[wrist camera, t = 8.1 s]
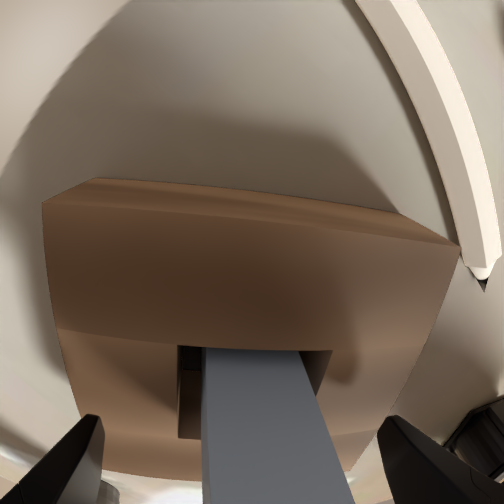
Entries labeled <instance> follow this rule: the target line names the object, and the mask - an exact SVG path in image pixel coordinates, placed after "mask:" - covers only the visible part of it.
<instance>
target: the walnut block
mask: <svg viewBox="0 0 504 504" xmlns="http://www.w3.org/2000/svg"><path fill="white" fill-rule="evenodd" d="M42 220H43V236H44V248H45V259H46V268H47V276H48V283H49V290H50V297H51V303H52V308H53V314H54V319H55V324H56V329H57V334H58V339H59V343H60V347H61V352H62V356H63V360H64V364H65V367H66V371H67V375H68V378H69V382H70V385H71V389H72V392H73V395H74V398H75V401H76V404H77V407H78V410H79V413H80V416H81V419H82V418H83V417H84V416H85V415H86V414H93V415H98V416H100V418H101V420H102V424H103V427H104V430H105V443H104V452H103V462H102V469H103V470H109V471H114V472H119V473H125V474H131V475H138V476H145V477H153V478H162V479H172V480H185V481H202V461H201V371H193V370H182V363H183V345H186V346H198V347H212V348H229V349H251V350H290V351H298V352H299V355H300V357H301V360H302V362H303V365H304V368H305V370H306V373H307V376H308V378H309V381H310V384H311V386H312V389H313V392H314V394H315V397H316V400H317V402H318V405H319V408H320V410H321V413H322V416H323V418H324V421H325V424H326V426H327V429H328V432H329V434H330V437H331V440H332V442H333V445H334V448H335V450H336V453H337V456H338V458H339V461H340V464H341V467H342V469H343V472H346V471H350V470H351V469H352V467H353V466H354V464H355V463H356V462H357V460H358V459H359V457H360V456H361V455H362V453H363V452H364V450H365V449H366V447H367V446H368V444H369V443H370V441H371V440H372V438H373V437H374V435H375V434H376V432H377V431H378V429H379V428H380V426H381V424H382V423H383V421H384V420H385V418H386V416H387V415H388V413H389V411H390V410H391V408H392V406H393V404H394V403H395V401H396V399H397V397H398V396H399V394H400V392H401V390H402V388H403V387H404V385H405V383H406V381H407V379H408V377H409V375H410V373H411V372H412V370H413V368H414V366H415V364H416V362H417V360H418V358H419V356H420V353H421V351H422V349H423V347H424V345H425V343H426V341H427V338H428V336H429V334H430V332H431V329H432V327H433V325H434V323H435V320H436V318H437V315H438V313H439V311H440V308H441V306H442V303H443V300H444V298H445V295H446V293H447V290H448V287H449V284H450V282H451V279H452V276H453V273H454V270H455V267H456V264H457V261H458V258H459V255H460V252H461V247H460V246H458V245H456V244H454V243H453V242H451V241H449V240H447V239H446V238H444V237H442V236H440V235H439V234H437V233H435V232H433V231H431V230H430V229H428V228H426V227H424V226H422V225H420V224H419V223H417V222H415V221H413V220H411V219H409V218H407V217H405V216H403V215H402V214H398V213H393V212H387V211H382V210H376V209H371V208H365V207H359V206H353V205H347V204H341V203H334V202H328V201H321V200H315V199H308V198H301V197H294V196H286V195H279V194H271V193H263V192H255V191H247V190H238V189H229V188H220V187H210V186H200V185H189V184H178V183H166V182H153V181H139V180H124V179H106V178H93V179H91V180H89V181H87V182H84V183H82V184H80V185H78V186H75V187H73V188H71V189H69V190H67V191H65V192H63V193H61V194H58V195H56V196H54V197H52V198H50V199H48V200H46V201H44V202H42Z"/></svg>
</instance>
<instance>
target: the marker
mask: <svg viewBox="0 0 504 504" xmlns="http://www.w3.org/2000/svg"><path fill="white" fill-rule="evenodd" d="M355 2H356V3H357V5H358V6H359V8H360V9H361V11H362V12H363V14H364V15H365V17H366V18H367V20H368V22H369V23H370V25H371V26H372V28H373V30H374V31H375V33H376V34H377V36H378V38H379V40H380V41H381V43H382V45H383V46H384V48H385V50H386V52H387V54H388V55H389V57H390V59H391V61H392V63H393V65H394V66H395V68H396V70H397V72H398V74H399V76H400V78H401V80H402V82H403V84H404V86H405V88H406V90H407V92H408V95H409V97H410V99H411V101H412V103H413V105H414V108H415V110H416V112H417V115H418V117H419V119H420V122H421V124H422V126H423V129H424V131H425V134H426V136H427V139H428V141H429V144H430V147H431V149H432V152H433V155H434V158H435V160H436V163H437V166H438V169H439V172H440V175H441V178H442V181H443V184H444V188H445V191H446V194H447V198H448V201H449V205H450V208H451V212H452V216H453V219H454V223H455V227H456V231H457V236H458V240H459V244H460V247H461V254H462V257H463V261H464V264H465V267H469V268H470V269H471V271H472V272H473V273H474V275H475V277H476V279H477V281H478V282H479V284H480V286H481V288H482V290H483V291H484V292H485V288H486V284H487V281H488V277H489V274H490V272H491V270H492V268H493V266H494V263H495V261H496V260H497V259H498V258H499V257H500V256H501V255H502V250H501V242H500V234H499V227H498V221H497V215H496V209H495V204H494V198H493V193H492V189H491V184H490V180H489V175H488V171H487V167H486V163H485V160H484V156H483V152H482V149H481V145H480V142H479V139H478V135H477V132H476V129H475V126H474V123H473V120H472V117H471V114H470V112H469V109H468V106H467V103H466V101H465V98H464V95H463V93H462V90H461V88H460V86H459V83H458V81H457V78H456V76H455V74H454V71H453V69H452V67H451V65H450V63H449V60H448V58H447V56H446V54H445V52H444V50H443V48H442V46H441V44H440V42H439V40H438V38H437V36H436V34H435V33H434V31H433V29H432V27H431V25H430V23H429V22H428V20H427V18H426V16H425V15H424V13H423V11H422V10H421V8H420V6H419V5H418V3H417V1H416V0H355Z"/></svg>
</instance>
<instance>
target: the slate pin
mask: <svg viewBox="0 0 504 504" xmlns="http://www.w3.org/2000/svg"><path fill="white" fill-rule="evenodd" d="M201 461H202V494H203V504H355V502H354V499H353V496H352V494H351V491H350V488H349V485H348V483H347V480H346V477H345V475H344V472H343V469H342V467H341V464H340V461H339V458H338V456H337V453H336V450H335V448H334V445H333V442H332V440H331V437H330V434H329V432H328V429H327V426H326V424H325V421H324V418H323V416H322V413H321V410H320V408H319V405H318V402H317V400H316V397H315V394H314V392H313V389H312V386H311V384H310V381H309V378H308V376H307V373H306V370H305V368H304V365H303V362H302V360H301V357H300V355H299V352H298V351H290V350H251V349H229V348H212V347H202V355H201Z"/></svg>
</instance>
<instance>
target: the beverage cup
mask: <svg viewBox="0 0 504 504" xmlns="http://www.w3.org/2000/svg"><path fill="white" fill-rule="evenodd" d="M119 495H120V494H119V492H118V490H117V489H116V488H115V487H113V486H111V485H110V484H108V483H106V482H104V481H102V480H101V481H100V486H99V491H98V495H97V500H96V504H119Z"/></svg>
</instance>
